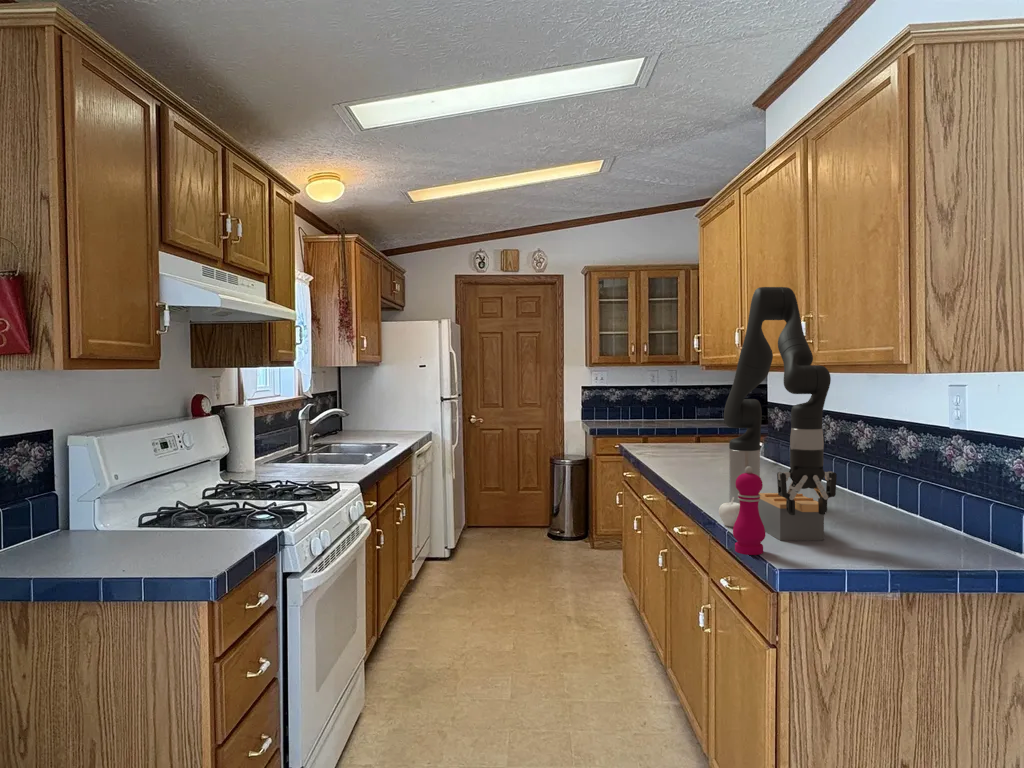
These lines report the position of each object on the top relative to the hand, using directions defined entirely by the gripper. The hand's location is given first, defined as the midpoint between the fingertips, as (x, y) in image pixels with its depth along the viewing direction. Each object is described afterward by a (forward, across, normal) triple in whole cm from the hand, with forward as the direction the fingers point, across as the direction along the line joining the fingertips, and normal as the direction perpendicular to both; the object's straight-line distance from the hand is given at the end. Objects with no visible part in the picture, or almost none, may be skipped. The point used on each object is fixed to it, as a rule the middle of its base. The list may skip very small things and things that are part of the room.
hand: (806, 514), depth 168 cm
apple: (+7, +12, -20) cm, 24 cm away
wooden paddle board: (0, 0, -8) cm, 8 cm away
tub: (+7, 0, -10) cm, 13 cm away
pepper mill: (+7, +17, +8) cm, 20 cm away
